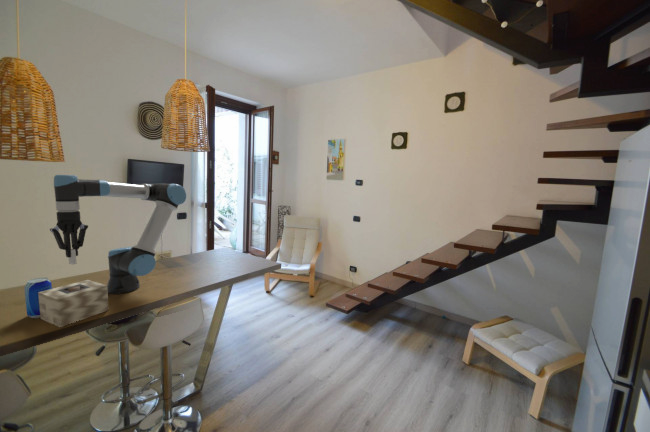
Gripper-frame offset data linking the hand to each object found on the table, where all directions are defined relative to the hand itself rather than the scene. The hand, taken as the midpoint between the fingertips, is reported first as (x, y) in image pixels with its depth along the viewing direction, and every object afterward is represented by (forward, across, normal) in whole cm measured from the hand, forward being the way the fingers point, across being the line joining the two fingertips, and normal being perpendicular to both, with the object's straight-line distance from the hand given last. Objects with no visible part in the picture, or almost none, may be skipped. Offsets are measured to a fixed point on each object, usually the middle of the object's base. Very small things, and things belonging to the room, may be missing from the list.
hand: (72, 263), depth 125 cm
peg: (+22, 0, 0) cm, 22 cm away
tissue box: (+23, 0, 0) cm, 23 cm away
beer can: (+24, +7, -13) cm, 28 cm away
